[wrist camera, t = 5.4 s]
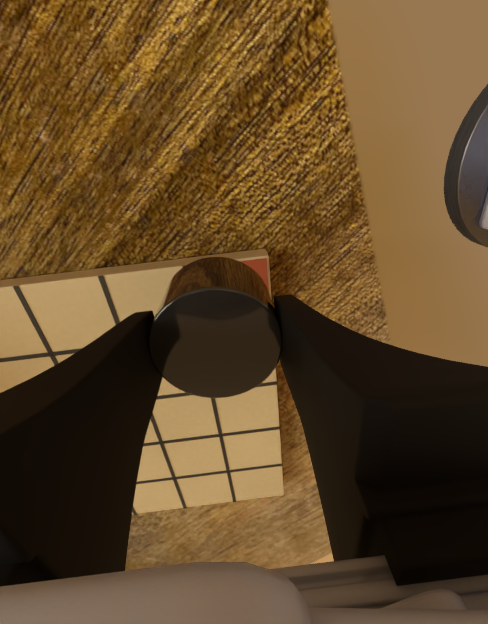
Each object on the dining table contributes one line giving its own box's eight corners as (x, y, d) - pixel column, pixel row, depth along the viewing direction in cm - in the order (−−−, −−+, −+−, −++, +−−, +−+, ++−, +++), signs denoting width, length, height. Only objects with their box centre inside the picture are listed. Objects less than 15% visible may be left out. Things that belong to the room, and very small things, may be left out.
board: (265, 248, 18) (269, 255, 17) (281, 480, 30) (284, 496, 29) (-49, 285, 18) (-72, 296, 17) (91, 504, 30) (85, 521, 29)
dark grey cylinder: (267, 249, 11) (281, 279, 8) (272, 344, 13) (285, 391, 11) (152, 262, 11) (130, 296, 8) (176, 355, 13) (164, 405, 10)
